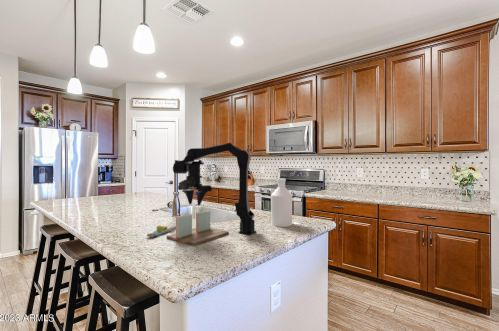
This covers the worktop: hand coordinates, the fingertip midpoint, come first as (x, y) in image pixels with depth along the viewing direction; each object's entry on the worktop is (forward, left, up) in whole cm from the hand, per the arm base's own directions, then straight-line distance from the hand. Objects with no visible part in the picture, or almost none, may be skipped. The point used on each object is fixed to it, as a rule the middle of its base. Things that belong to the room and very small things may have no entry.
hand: (194, 204), depth 134 cm
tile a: (-6, 0, -12) cm, 13 cm away
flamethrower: (+11, +8, -14) cm, 19 cm away
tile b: (-6, +12, -12) cm, 18 cm away
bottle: (-29, -37, -13) cm, 49 cm away
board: (-9, +6, -13) cm, 17 cm away
